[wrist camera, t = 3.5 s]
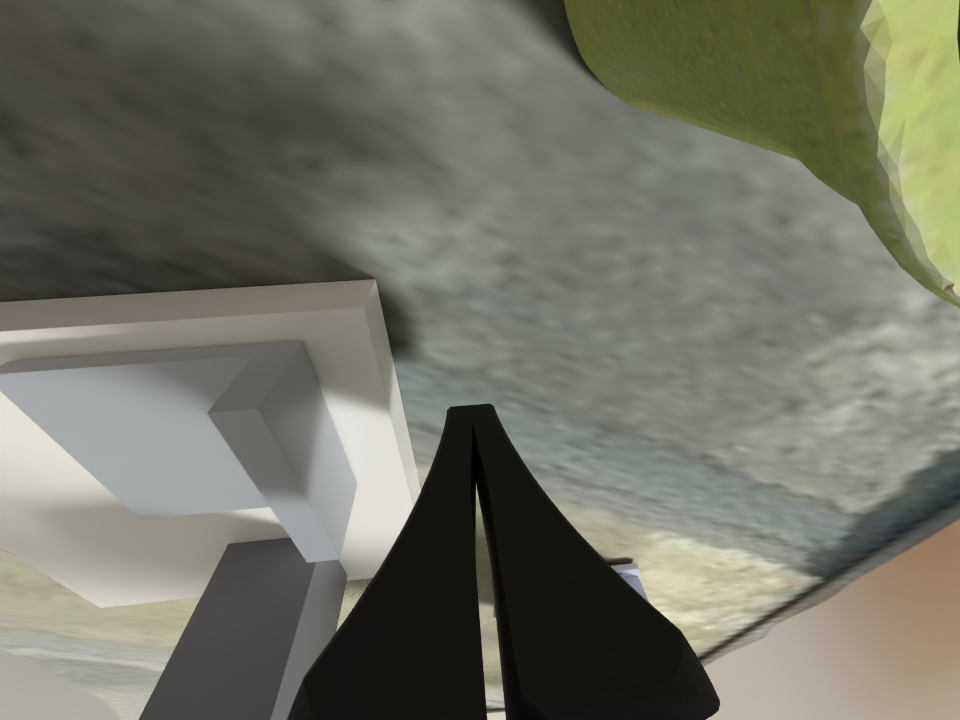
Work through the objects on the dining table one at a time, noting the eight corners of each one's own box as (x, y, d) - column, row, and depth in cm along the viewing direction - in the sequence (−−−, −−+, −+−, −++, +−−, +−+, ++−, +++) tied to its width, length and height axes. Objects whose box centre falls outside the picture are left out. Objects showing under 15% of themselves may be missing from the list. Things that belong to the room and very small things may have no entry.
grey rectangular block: (324, 533, 15) (260, 754, 10) (347, 575, 17) (306, 772, 12) (228, 543, 15) (110, 774, 9) (265, 584, 17) (186, 789, 12)
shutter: (302, 340, 9) (257, 409, 7) (357, 484, 13) (340, 559, 11) (8, 361, 9) (-137, 440, 7) (152, 503, 12) (90, 585, 10)
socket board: (375, 279, 11) (363, 307, 9) (430, 533, 19) (429, 571, 18) (-195, 314, 10) (-324, 352, 8) (131, 564, 18) (100, 607, 17)
